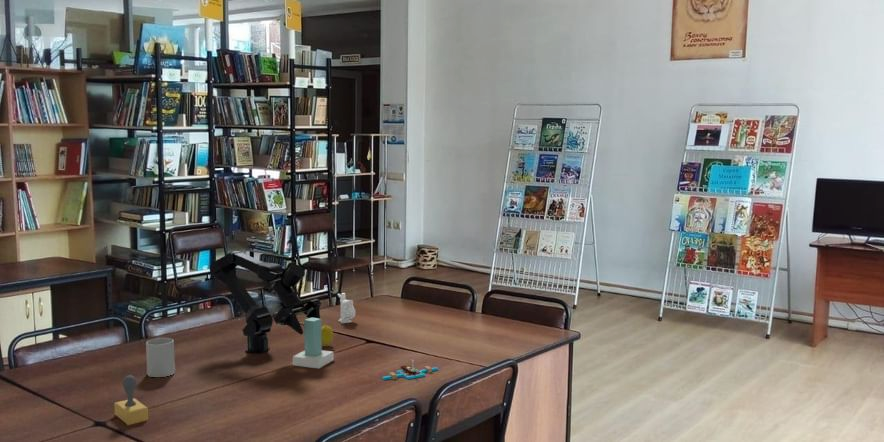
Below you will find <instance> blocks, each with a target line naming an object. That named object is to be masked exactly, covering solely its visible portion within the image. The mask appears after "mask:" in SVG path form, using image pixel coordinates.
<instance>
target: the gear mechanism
mask: <svg viewBox="0 0 884 442" xmlns="http://www.w3.org/2000/svg"><path fill="white" fill-rule="evenodd" d="M438 370H439V368H438V367H436V366H435V367H431V366H429V365H425V366H423V369H417V368H415V367H414V360H412V361H411V367H410V366H407V365H401V366H400V369H399V370H396V373H395V372H393V371H390V372H389V373H388V375H386V376H385V375H384V376H382V377H381V378H382V380H384V381H385V380H386V381H387V380H397V378H401V377H403V378H404V379H406V380H412V379H417V378H423V377H425V375H426V374H425V373H428V374H429V373H433V372H435V371H438Z"/></svg>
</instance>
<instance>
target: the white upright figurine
mask: <svg viewBox="0 0 884 442" xmlns="http://www.w3.org/2000/svg"><path fill="white" fill-rule="evenodd" d="M337 297H338V298H339V299H340V300H339V303H340V318H339V319H338V322H339V323H341V324H350V323H352V322H353V321H352V319H353V318H355V316H356V308H355V307H354V300H352V299H350V300H349V299H347V298H346V292H342V293H337Z"/></svg>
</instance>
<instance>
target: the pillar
mask: <svg viewBox="0 0 884 442" xmlns="http://www.w3.org/2000/svg"><path fill="white" fill-rule="evenodd" d="M303 322H304V323H303V324H304V325H303V326H304V330H303V334H304V335H303V336H304V351H305V354H306V355H310V356H316V355H318V354H321V353H322V350H323V349H322V348H323V347H322V345H323V344H321V327H322V318H320V319H319V318H313V317H312V318H305V319H304V320H303Z"/></svg>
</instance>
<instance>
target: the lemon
mask: <svg viewBox="0 0 884 442" xmlns="http://www.w3.org/2000/svg"><path fill="white" fill-rule="evenodd" d="M333 340H334V331H333V329H332V328H331V326H330V325H329V326H328V325H327V324H324V325H323V326H321V344H322V345H323V346H324V347H327V346H329V345H330V344H331V343H332V342H333Z"/></svg>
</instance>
